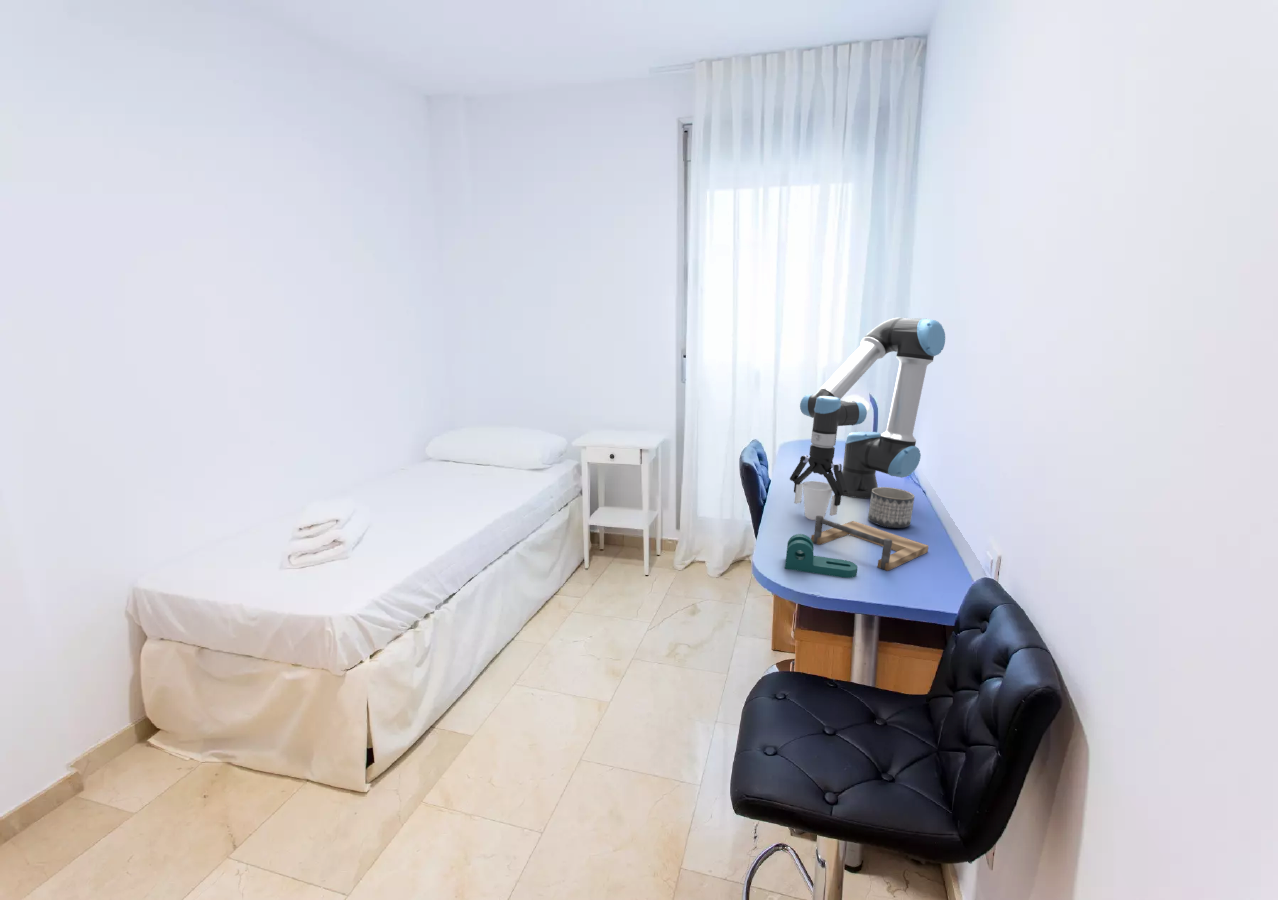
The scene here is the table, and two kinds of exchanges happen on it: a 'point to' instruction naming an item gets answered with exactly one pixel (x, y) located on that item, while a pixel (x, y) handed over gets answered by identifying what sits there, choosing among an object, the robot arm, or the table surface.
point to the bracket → (815, 559)
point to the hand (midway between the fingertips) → (814, 508)
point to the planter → (891, 507)
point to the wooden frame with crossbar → (888, 540)
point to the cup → (816, 498)
